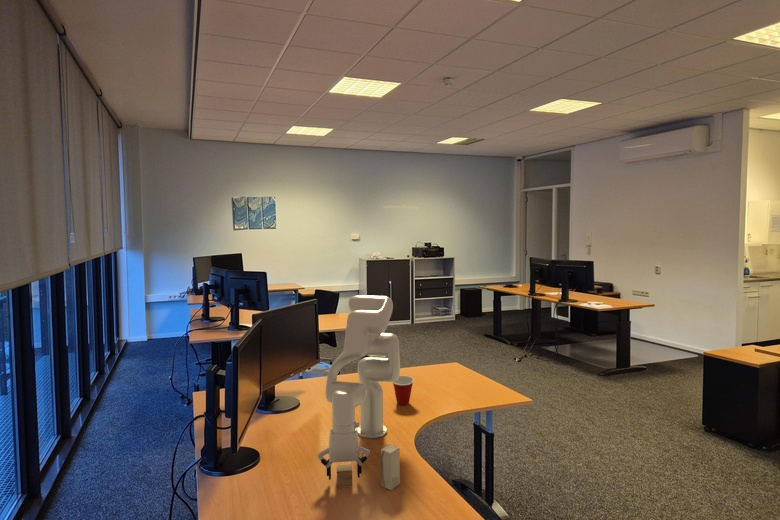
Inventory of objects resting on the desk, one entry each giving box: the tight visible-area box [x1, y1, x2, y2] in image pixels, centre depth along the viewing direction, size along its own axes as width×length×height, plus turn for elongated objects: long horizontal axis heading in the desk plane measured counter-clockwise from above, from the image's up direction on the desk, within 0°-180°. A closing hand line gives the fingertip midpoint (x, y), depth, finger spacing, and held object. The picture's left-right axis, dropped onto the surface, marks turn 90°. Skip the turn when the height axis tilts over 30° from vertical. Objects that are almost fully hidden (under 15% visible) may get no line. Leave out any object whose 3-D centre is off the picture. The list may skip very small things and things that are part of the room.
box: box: [380, 443, 401, 491], centre depth 157 cm, size 5×4×13 cm
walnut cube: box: [336, 463, 353, 488], centre depth 159 cm, size 5×5×5 cm
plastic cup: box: [392, 375, 415, 406], centre depth 228 cm, size 11×11×12 cm
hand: (344, 476), depth 159 cm, fingers open, 9 cm apart
